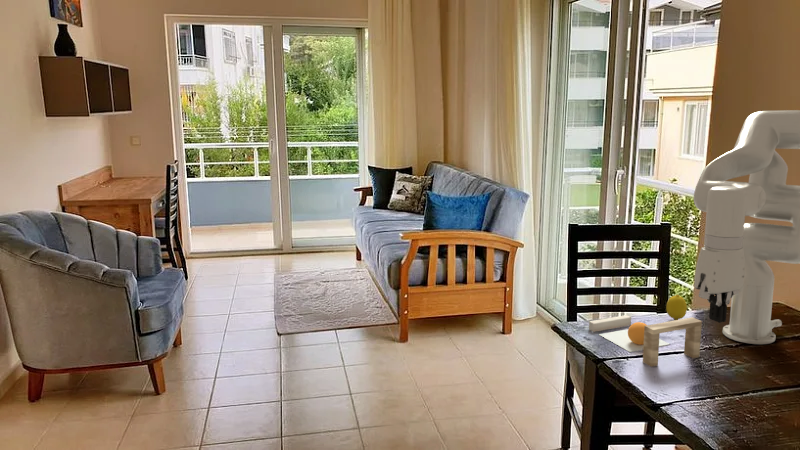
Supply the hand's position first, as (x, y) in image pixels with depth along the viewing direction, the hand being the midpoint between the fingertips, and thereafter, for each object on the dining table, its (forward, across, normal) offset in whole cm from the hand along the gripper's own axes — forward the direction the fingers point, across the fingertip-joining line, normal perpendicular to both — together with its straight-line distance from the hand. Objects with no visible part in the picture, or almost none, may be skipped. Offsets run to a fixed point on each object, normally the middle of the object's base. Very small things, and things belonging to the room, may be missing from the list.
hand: (717, 320), depth 134 cm
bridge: (+15, 0, -13) cm, 20 cm away
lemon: (+15, -21, -34) cm, 43 cm away
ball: (+12, 0, -24) cm, 27 cm away
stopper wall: (+15, 0, -37) cm, 40 cm away
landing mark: (+15, 0, -27) cm, 31 cm away
